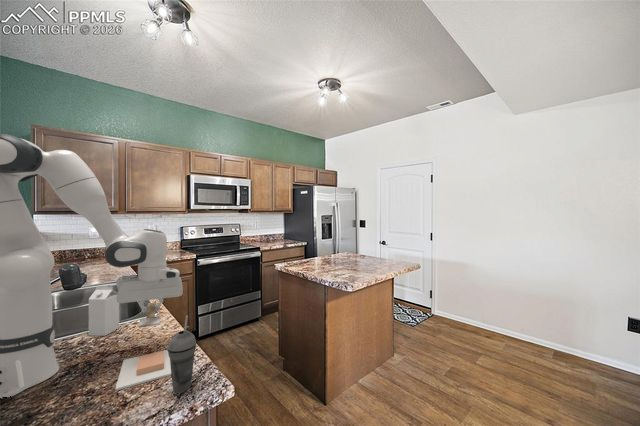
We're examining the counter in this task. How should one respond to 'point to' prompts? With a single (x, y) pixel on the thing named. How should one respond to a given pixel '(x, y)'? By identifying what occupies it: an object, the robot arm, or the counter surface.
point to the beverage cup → (182, 359)
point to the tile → (150, 362)
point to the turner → (150, 317)
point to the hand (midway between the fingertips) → (151, 311)
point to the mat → (131, 378)
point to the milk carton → (103, 312)
